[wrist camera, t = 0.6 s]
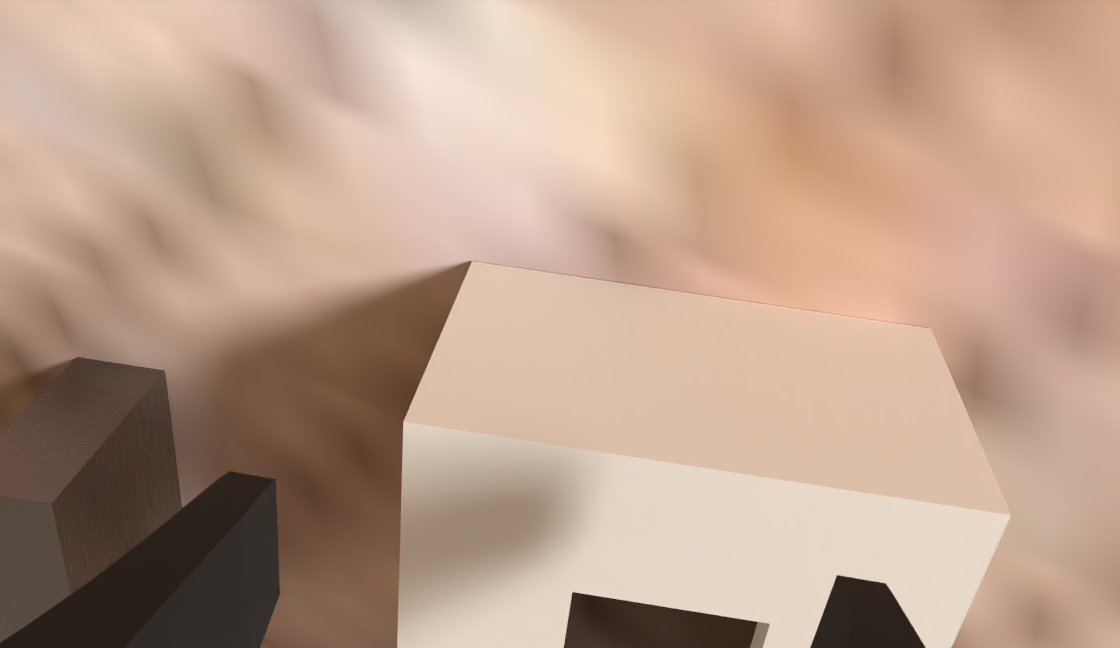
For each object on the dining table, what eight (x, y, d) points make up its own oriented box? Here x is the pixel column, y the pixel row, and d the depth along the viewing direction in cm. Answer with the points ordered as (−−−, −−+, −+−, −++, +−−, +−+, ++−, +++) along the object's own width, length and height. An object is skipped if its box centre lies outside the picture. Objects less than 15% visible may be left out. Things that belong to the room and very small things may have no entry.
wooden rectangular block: (186, 536, 27) (89, 685, 22) (108, 523, 27) (-3, 670, 22) (165, 369, 24) (51, 503, 20) (79, 356, 24) (-55, 486, 20)
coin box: (785, 742, 28) (807, 964, 23) (444, 685, 28) (389, 891, 23) (930, 328, 21) (1010, 514, 16) (471, 260, 21) (403, 421, 16)
